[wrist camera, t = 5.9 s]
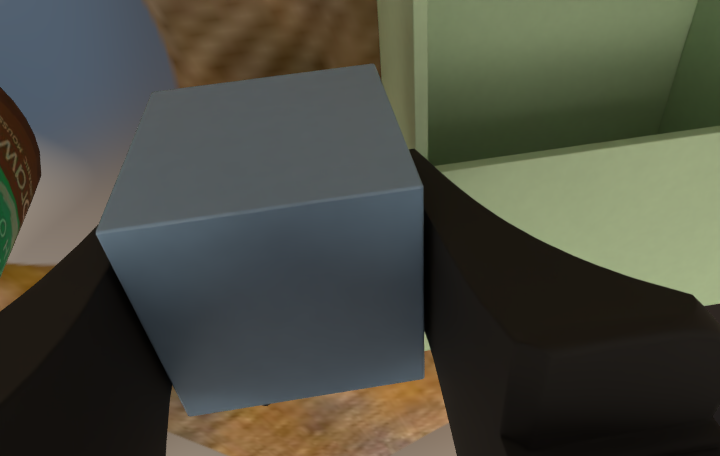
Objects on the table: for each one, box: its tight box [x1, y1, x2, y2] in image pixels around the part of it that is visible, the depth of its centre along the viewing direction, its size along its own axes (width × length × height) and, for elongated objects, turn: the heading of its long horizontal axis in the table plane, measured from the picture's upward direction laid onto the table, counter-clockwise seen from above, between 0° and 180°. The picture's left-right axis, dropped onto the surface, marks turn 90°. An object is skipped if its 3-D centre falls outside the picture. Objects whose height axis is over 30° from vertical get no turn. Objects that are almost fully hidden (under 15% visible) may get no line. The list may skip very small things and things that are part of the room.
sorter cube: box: [96, 64, 424, 416], centre depth 11 cm, size 5×5×5 cm
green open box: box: [377, 0, 720, 351], centre depth 19 cm, size 17×13×7 cm
